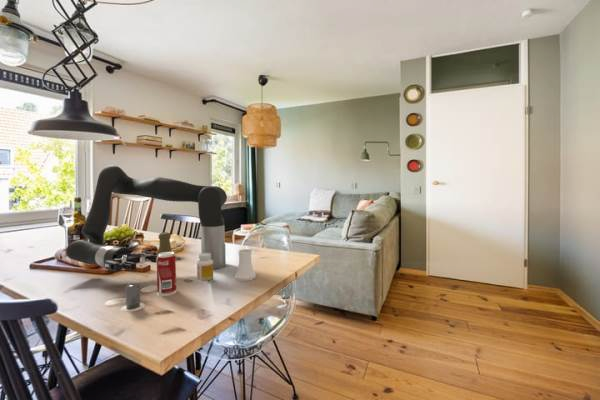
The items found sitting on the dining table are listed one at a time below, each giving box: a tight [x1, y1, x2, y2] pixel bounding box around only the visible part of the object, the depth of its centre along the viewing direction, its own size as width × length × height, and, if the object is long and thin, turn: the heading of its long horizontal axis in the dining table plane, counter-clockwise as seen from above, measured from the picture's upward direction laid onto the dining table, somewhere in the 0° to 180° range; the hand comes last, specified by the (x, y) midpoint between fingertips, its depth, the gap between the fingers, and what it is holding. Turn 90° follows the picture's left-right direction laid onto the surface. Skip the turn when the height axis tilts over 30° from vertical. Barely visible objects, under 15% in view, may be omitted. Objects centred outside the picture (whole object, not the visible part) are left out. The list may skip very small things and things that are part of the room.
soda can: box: [156, 251, 177, 296], centre depth 85 cm, size 5×5×12 cm
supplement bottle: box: [196, 252, 214, 284], centre depth 98 cm, size 5×5×10 cm
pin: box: [125, 282, 141, 310], centre depth 75 cm, size 3×3×6 cm
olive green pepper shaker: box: [157, 232, 173, 255], centre depth 131 cm, size 6×6×11 cm
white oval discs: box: [103, 284, 178, 313], centre depth 82 cm, size 22×13×1 cm, turn 157°
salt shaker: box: [234, 248, 257, 282], centre depth 103 cm, size 8×8×10 cm
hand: (147, 263), depth 88 cm, fingers open, 8 cm apart
